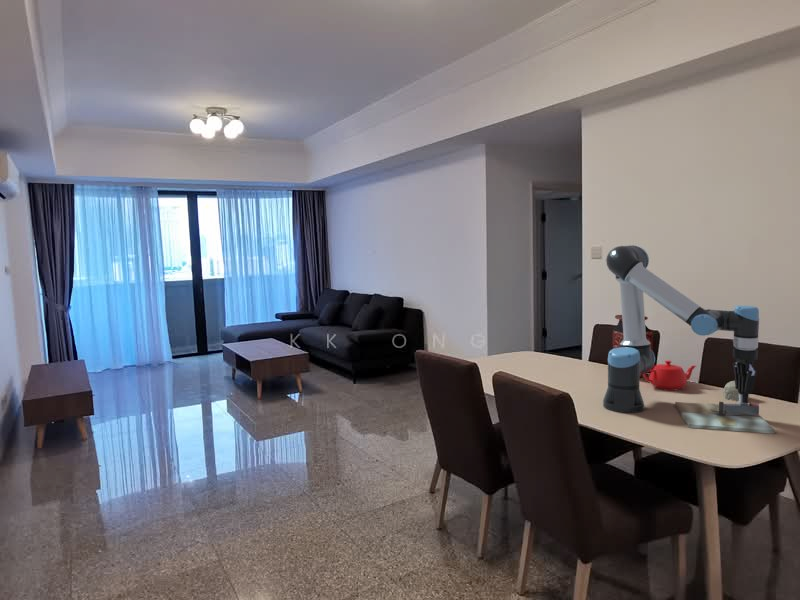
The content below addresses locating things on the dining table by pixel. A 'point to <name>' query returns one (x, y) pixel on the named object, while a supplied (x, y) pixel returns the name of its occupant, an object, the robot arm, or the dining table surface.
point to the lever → (741, 409)
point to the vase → (619, 336)
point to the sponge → (731, 391)
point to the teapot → (669, 376)
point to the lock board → (720, 418)
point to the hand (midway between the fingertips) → (743, 410)
